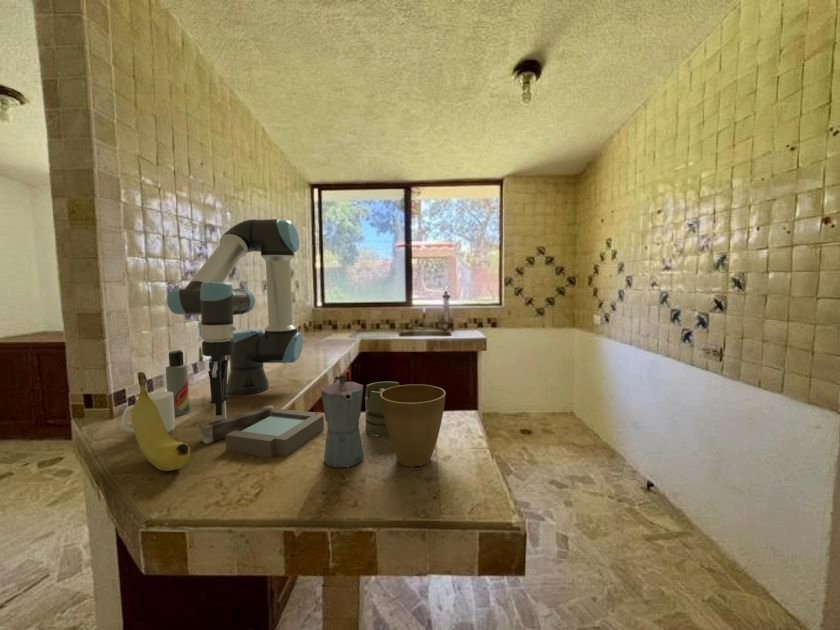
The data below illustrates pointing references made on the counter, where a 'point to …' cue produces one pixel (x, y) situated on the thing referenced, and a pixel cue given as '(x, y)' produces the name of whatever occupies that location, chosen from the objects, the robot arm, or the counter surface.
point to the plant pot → (413, 421)
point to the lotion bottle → (178, 382)
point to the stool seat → (276, 433)
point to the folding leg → (233, 424)
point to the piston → (376, 408)
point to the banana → (156, 434)
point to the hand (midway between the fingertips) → (220, 425)
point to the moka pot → (342, 422)
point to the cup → (164, 406)
